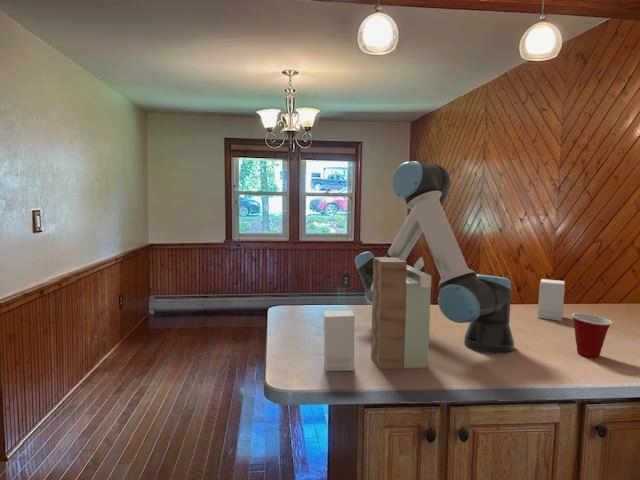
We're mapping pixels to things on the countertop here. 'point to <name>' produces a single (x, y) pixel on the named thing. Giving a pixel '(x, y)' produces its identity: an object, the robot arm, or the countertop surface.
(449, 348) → the countertop surface
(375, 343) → the block
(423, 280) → the grey bar
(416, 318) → the sage dock
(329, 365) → the skincare box
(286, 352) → the countertop surface
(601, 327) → the plastic cup
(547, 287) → the supplement box
